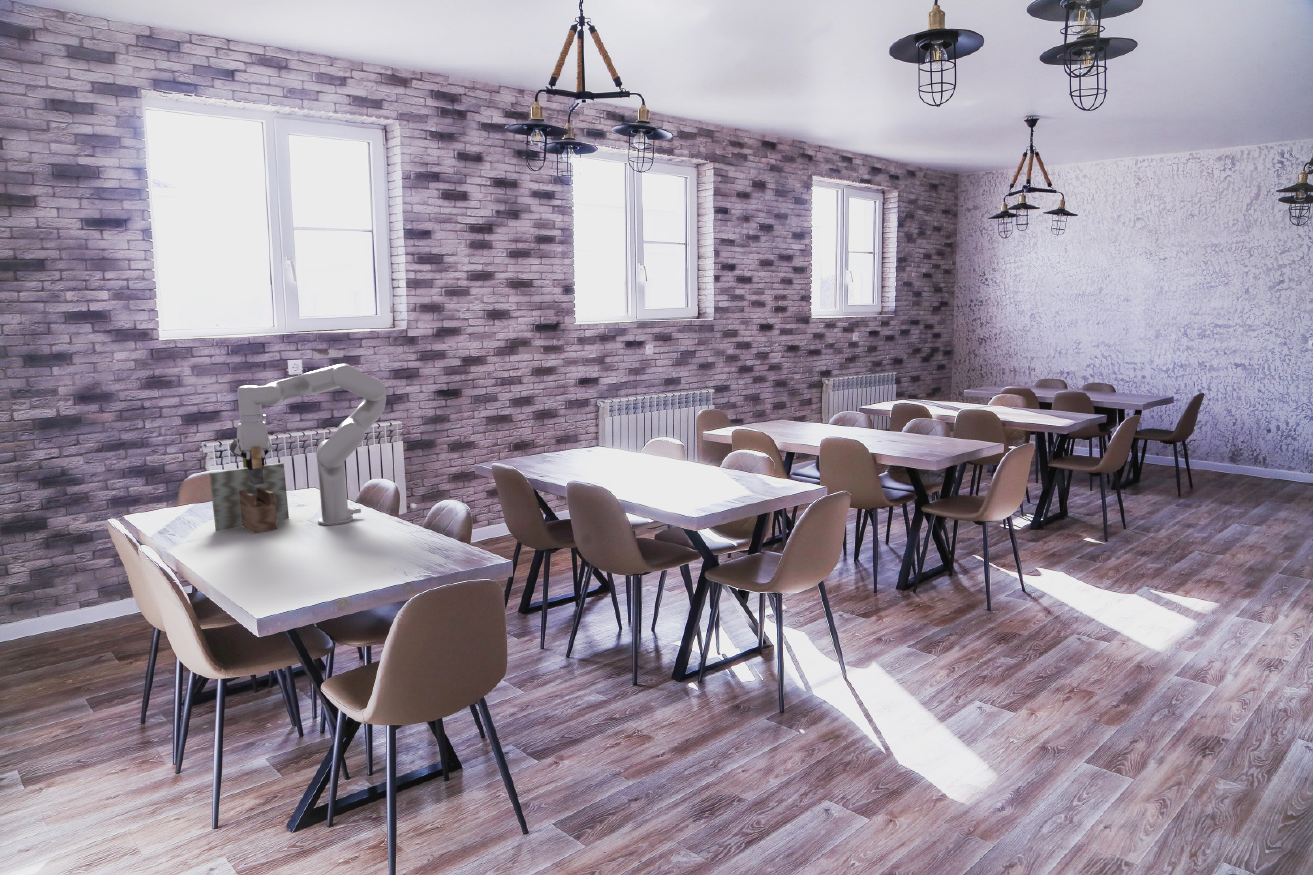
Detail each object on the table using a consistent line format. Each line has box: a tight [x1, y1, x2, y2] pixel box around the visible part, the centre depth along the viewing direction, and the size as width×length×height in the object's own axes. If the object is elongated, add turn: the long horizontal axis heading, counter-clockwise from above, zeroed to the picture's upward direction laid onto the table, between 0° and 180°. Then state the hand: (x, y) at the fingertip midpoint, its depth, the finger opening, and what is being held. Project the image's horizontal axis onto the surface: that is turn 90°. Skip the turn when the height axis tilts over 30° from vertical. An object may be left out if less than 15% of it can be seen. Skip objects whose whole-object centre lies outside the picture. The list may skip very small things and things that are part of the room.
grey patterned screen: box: [209, 462, 290, 534], centre depth 318 cm, size 26×16×22 cm, turn 132°
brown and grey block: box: [249, 446, 264, 485], centre depth 312 cm, size 3×5×14 cm, turn 42°
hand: (255, 468), depth 313 cm, fingers closed on brown and grey block, 3 cm apart
